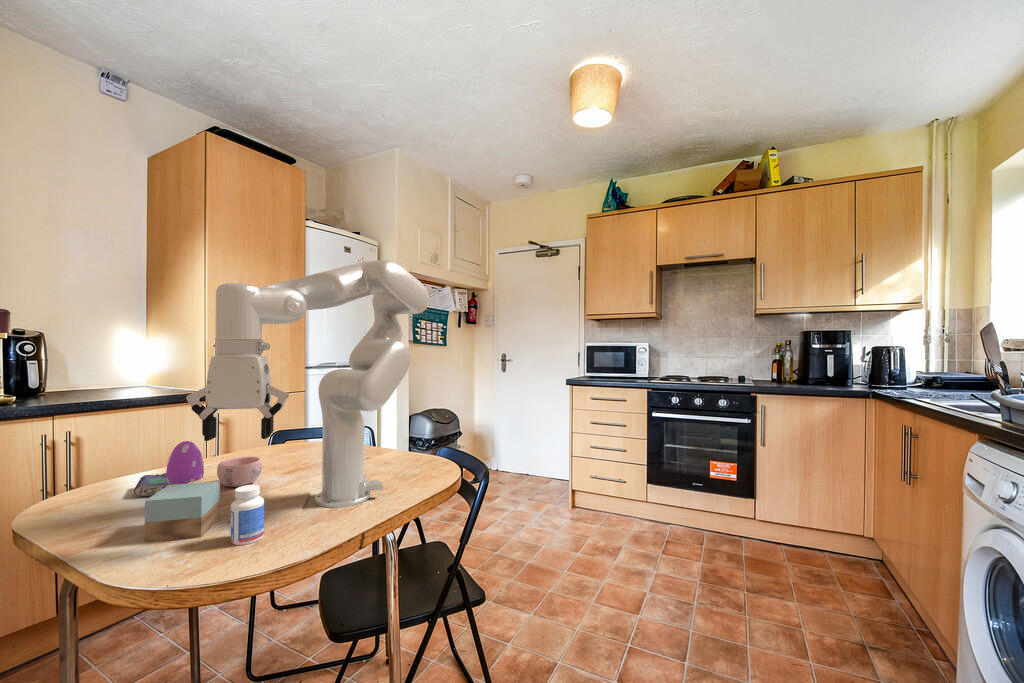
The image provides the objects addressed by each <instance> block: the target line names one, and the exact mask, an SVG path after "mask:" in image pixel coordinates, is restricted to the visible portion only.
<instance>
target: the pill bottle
mask: <svg viewBox="0 0 1024 683" xmlns="http://www.w3.org/2000/svg"><path fill="white" fill-rule="evenodd" d="M260 492H261V488H260V485H258V484H246V485H243V486H237V487H236V488H235V489H234V498H235V500H234V501H232V502H231V504H230V542H231V544H233V545H236V546H245V545H251V544H253V543H256V542H259V541H260V540H262V539H263V538H264V535H265V499H264V497H262V496H260Z"/></svg>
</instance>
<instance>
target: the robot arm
mask: <svg viewBox="0 0 1024 683" xmlns="http://www.w3.org/2000/svg"><path fill="white" fill-rule="evenodd" d="M368 296H372V298H371V299H372V302H371V303H372V307H373V308H372V309H373V314H374V316H373V317H374V319H373V324H372V325H371V327H370V329H369V330H368V331H367V332H366V334H364V336H363V337H362V338H361V339H360V341H359V342H358V343H357V344H356V345H355V347H354V348H353V350H352V351H351V352H350V355H349V358H348V364H349V366H350V368H351V369H350V368H348V369H347V368H339V369H333V370H330V371H328V372H327V373H326V374H325V375H323V376H322V378H321V380H320V381H319V383H318V392H317V393H318V398H319V404H320V408H321V410H320V411H321V416H322V418H321V419H322V420H321V421H322V451H321V452H322V455H321V456H322V465H321V466H322V467H321V468H322V469H321V471H322V472H321V473H322V476H321V481H322V485H321V491H320V492H318V493H317V494H316V495H315V497H314V503H315V504H316V505H317V506H320V507H324V508H329V507H330V508H331V509H332V508H333V509H334V508H335V509H337V508H348V506H349V507H353V505H354V506H357V505H360V504H363V503H364V501H365V502H366V501H368V499H370V497H371V491H382V490H384V489H383V488H384V481H379V480H378V479H374V480H369V479H367V474H366V475H365V434H366V432H365V429H366V428H365V421H364V416H363V414H362V412H375V411H377V410H379V409H381V408H382V407H384V405H385V404H386V403H387V402H388V401H389V400H390V398H391V397H392V395H393V393H394V392H395V390H397V389H398V386H399V385H400V383H401V382H402V381H403V379H404V377H405V376H406V374H407V372H408V370H409V368H410V364H411V351H410V349H409V347H408V345H407V344H406V343H404V341H401V340H402V339H403V329H402V325H401V322H400V319H399V315H416V314H422V313H423V312H425V311H426V310H427V309H428V307H429V304H430V294H429V291H428V289H427V287H426V286H425V285H424V284H423V283H422V281H420V280H419V279H418V278H416V277H415V276H414V275H413V274H411V273H410V272H409V271H408V270H406V269H405V268H404V267H403V266H401V265H400V264H398V263H396V262H394V261H393V260H389V259H378V260H369V261H368V260H367V261H361V262H357V263H353V264H349V265H345V266H341V267H336V268H334V269H329V270H324V271H321V272H317V273H313V274H308V275H306V276H302V277H298V278H294V279H288V280H283V281H280V282H276V283H272V284H268V285H263V286H257V285H253V284H248V283H238V282H237V283H235V282H228V283H226V282H225V283H221V284H219V285H218V286H217V288H216V289H215V342H214V343H215V351H214V352H215V356H214V355H212V356H211V358H210V363H209V364H208V365H209V366H208V370H207V374H206V375H207V377H206V383H205V387H203V388H200V389H199V390H196V391H195V392H191V393H190V394H188V395H187V396H186V397H185V398H186V401H187V402H188V404H189V406H190V407H191V411H192V412H194V413H195V415H197V416H198V418H199V420H201V423H202V426H201V429H202V430H201V433H202V434H201V435H202V436H203V440H204V442H209V441H211V440H213V439H215V438H217V417H216V416H215V413H217V412H218V411H219V410H247V409H249V410H251V409H257V410H258V411H259V412H260V413H261V415H263V417H262V418H261V420H260V421H261V422H260V423H261V424H260V430H261V431H260V438H261V439H262V440H266V439H268V438H270V437H271V436H272V434H273V433H274V422H275V421H274V416H275V415H277V413H278V412H279V411H281V409H283V407H284V405H285V404H286V402H287V400H288V399H289V397H290V395H289V393H288V392H285V391H284V390H281V389H279V388H278V387H277V388H276V386H273V385H272V380H271V370H270V365H269V359H268V356H267V355H263V354H264V351H270V349H271V345H270V343H269V342H264V339H263V325H288V324H293V323H296V322H298V321H300V320H302V318H303V317H304V316H305V315H306V312H307V311H313V310H314V311H316V310H324V309H326V310H327V309H330V308H335V307H339V306H342V305H345V304H347V303H351V302H353V301H356V300H359V299H362V298H364V297H368ZM204 396H205V405H206V406H205V405H203V404H202V403H201V401H200V399H201V398H203V397H204ZM273 396H274V397H276V398H277V400H276V402H275V404H274V405H273V406H272V405H271V404H270V403H271V402H272V398H273Z"/></svg>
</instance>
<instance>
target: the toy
mask: <svg viewBox="0 0 1024 683" xmlns="http://www.w3.org/2000/svg"><path fill="white" fill-rule="evenodd" d="M166 464H167V465H166V471H165V473H166V480H167V483H169V484H189V483H195V482H198V481H199V480H201V479H203V478H204V475H205V474H204V472H205V465H204V459H203V455H202V452H201V450H200V449H199V447H198V446H197V445H196V444H195V443H194V442H192V441H190V440H185V441H181V442H179V443H178V444H177V445H176V446H175V447H173V449H172V452H171V453H170V455H169V457H168V461H167V463H166Z"/></svg>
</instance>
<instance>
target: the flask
mask: <svg viewBox="0 0 1024 683" xmlns="http://www.w3.org/2000/svg"><path fill="white" fill-rule="evenodd" d="M168 485H175V484H169V483H167V480H166V472H165V473H164V472H163V473H161V474H159V473H156V474H144V475H143V476H141V477H140V478H139V480H138V482H137V484H136V485H135V487H134V488H133V493H134V495H136V496H141V497H143V496H144V497H151V496H153V495H155V494H156V493H158V492H159V491H161V490H162V489H164V488H165V487H167V486H168Z"/></svg>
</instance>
